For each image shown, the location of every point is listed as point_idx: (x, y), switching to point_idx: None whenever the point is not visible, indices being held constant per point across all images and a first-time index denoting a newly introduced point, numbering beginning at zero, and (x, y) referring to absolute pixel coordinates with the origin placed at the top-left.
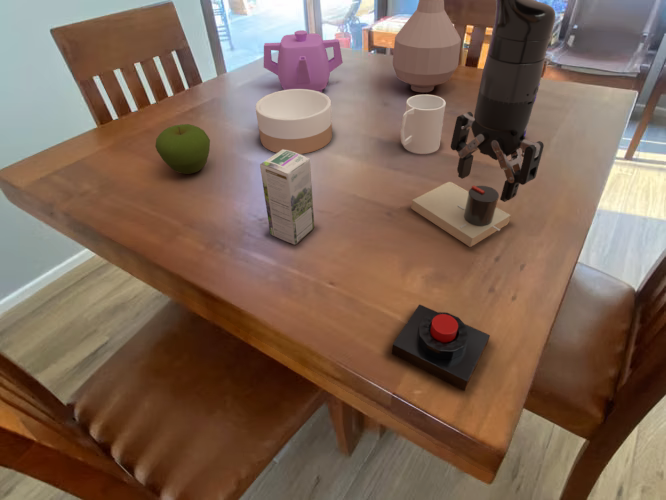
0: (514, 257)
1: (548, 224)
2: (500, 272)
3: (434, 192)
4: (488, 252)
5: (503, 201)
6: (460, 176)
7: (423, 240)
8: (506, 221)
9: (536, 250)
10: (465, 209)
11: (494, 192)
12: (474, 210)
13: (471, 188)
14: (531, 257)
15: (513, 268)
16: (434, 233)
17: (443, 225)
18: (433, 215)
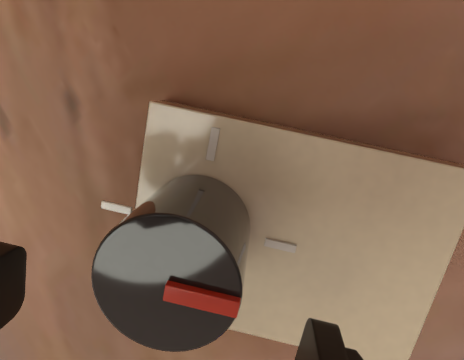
0: (40, 147)
1: (56, 342)
2: (29, 52)
3: (422, 275)
4: (107, 117)
5: (3, 243)
6: (319, 323)
7: (316, 19)
8: None
9: (16, 217)
10: (236, 209)
11: (130, 322)
12: (178, 194)
13: (238, 293)
14: (9, 179)
15: (14, 97)
16: (302, 86)
17: (290, 129)
18: (349, 142)
